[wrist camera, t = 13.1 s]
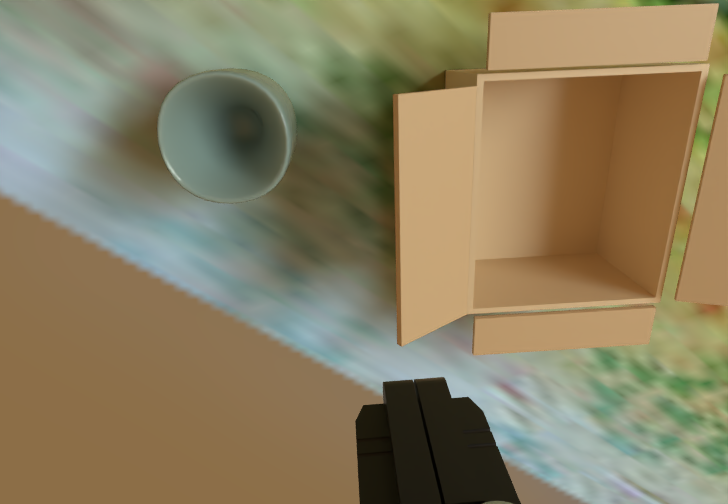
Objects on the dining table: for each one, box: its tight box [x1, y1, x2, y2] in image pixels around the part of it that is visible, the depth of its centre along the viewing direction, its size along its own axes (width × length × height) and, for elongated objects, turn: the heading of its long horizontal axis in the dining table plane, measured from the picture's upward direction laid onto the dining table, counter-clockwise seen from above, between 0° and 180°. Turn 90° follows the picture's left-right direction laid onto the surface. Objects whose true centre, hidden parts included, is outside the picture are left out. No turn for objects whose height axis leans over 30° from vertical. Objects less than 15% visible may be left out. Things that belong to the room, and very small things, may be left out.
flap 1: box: [393, 86, 477, 346], centre depth 29 cm, size 15×6×1 cm
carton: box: [445, 3, 719, 355], centre depth 36 cm, size 22×14×9 cm, turn 2°
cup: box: [157, 68, 297, 204], centre depth 33 cm, size 8×8×10 cm
